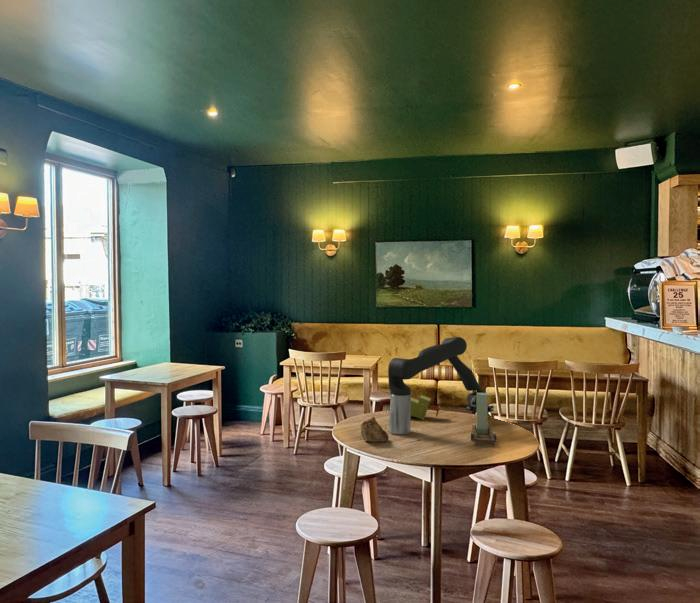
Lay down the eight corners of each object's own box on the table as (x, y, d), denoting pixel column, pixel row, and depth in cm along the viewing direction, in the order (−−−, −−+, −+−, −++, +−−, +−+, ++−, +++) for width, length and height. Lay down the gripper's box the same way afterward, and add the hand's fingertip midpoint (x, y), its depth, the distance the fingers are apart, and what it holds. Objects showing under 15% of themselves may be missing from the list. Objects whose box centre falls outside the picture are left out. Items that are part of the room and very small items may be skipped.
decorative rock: (362, 444, 208) (362, 418, 208) (358, 440, 214) (358, 415, 214) (389, 442, 211) (390, 416, 211) (385, 438, 217) (385, 413, 217)
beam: (469, 430, 231) (469, 424, 231) (492, 432, 229) (492, 426, 229) (471, 445, 208) (471, 438, 207) (497, 447, 205) (497, 440, 205)
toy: (434, 424, 259) (397, 410, 263) (441, 401, 258) (404, 388, 262) (433, 428, 250) (394, 414, 254) (440, 405, 249) (401, 391, 253)
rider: (475, 430, 229) (476, 392, 229) (486, 430, 229) (487, 392, 229) (476, 433, 224) (476, 394, 224) (487, 434, 223) (488, 395, 223)
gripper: (465, 396, 248) (466, 402, 231) (493, 397, 246) (496, 404, 229) (465, 411, 248) (466, 419, 231) (493, 412, 246) (496, 420, 229)
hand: (481, 411), depth 230 cm, fingers closed
